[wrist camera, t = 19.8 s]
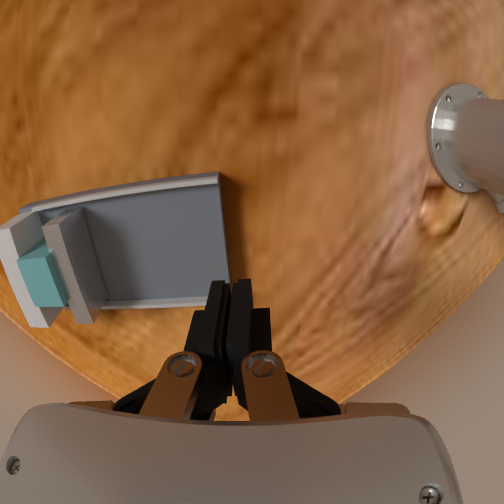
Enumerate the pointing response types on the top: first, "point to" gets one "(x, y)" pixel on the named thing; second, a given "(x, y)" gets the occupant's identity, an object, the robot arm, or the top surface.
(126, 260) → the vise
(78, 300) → the block
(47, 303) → the teal block
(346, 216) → the top surface
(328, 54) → the top surface
